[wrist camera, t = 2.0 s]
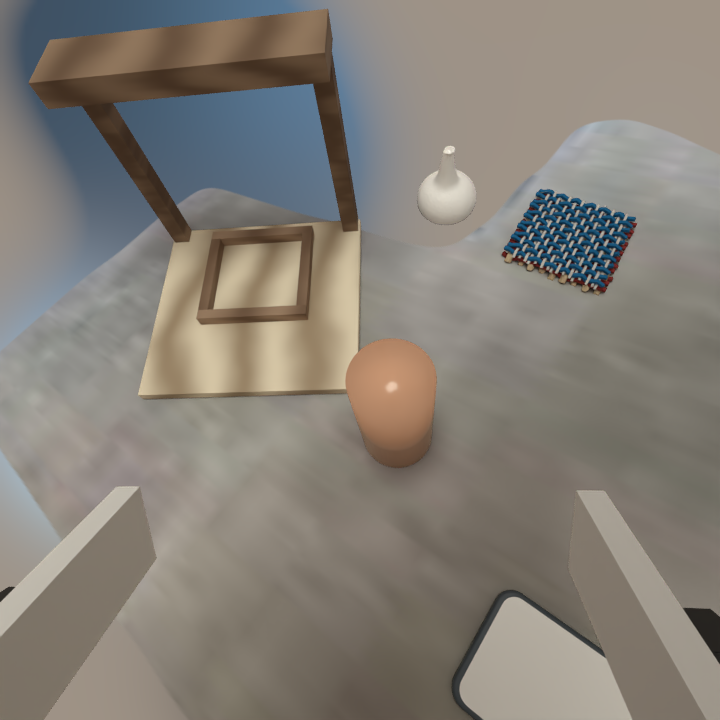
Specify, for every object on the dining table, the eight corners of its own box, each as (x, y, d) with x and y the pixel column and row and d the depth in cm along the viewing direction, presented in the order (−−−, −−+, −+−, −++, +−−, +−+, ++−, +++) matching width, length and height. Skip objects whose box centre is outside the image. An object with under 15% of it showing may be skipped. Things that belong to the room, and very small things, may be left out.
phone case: (443, 693, 34) (676, 887, 28) (444, 696, 33) (689, 901, 27) (503, 581, 37) (727, 738, 31) (507, 580, 35) (741, 744, 30)
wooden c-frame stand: (361, 225, 53) (328, 9, 34) (358, 392, 44) (311, 230, 25) (180, 237, 55) (49, 40, 36) (143, 399, 46) (-58, 254, 27)
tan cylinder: (429, 401, 43) (434, 336, 32) (433, 467, 41) (439, 421, 30) (363, 402, 44) (346, 340, 33) (363, 468, 41) (343, 423, 30)
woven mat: (600, 303, 46) (608, 291, 44) (497, 263, 50) (500, 251, 48) (636, 227, 50) (644, 214, 48) (537, 195, 53) (541, 181, 51)
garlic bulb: (439, 182, 56) (436, 119, 49) (487, 199, 53) (490, 135, 46) (407, 217, 54) (399, 157, 47) (455, 237, 51) (454, 176, 44)
